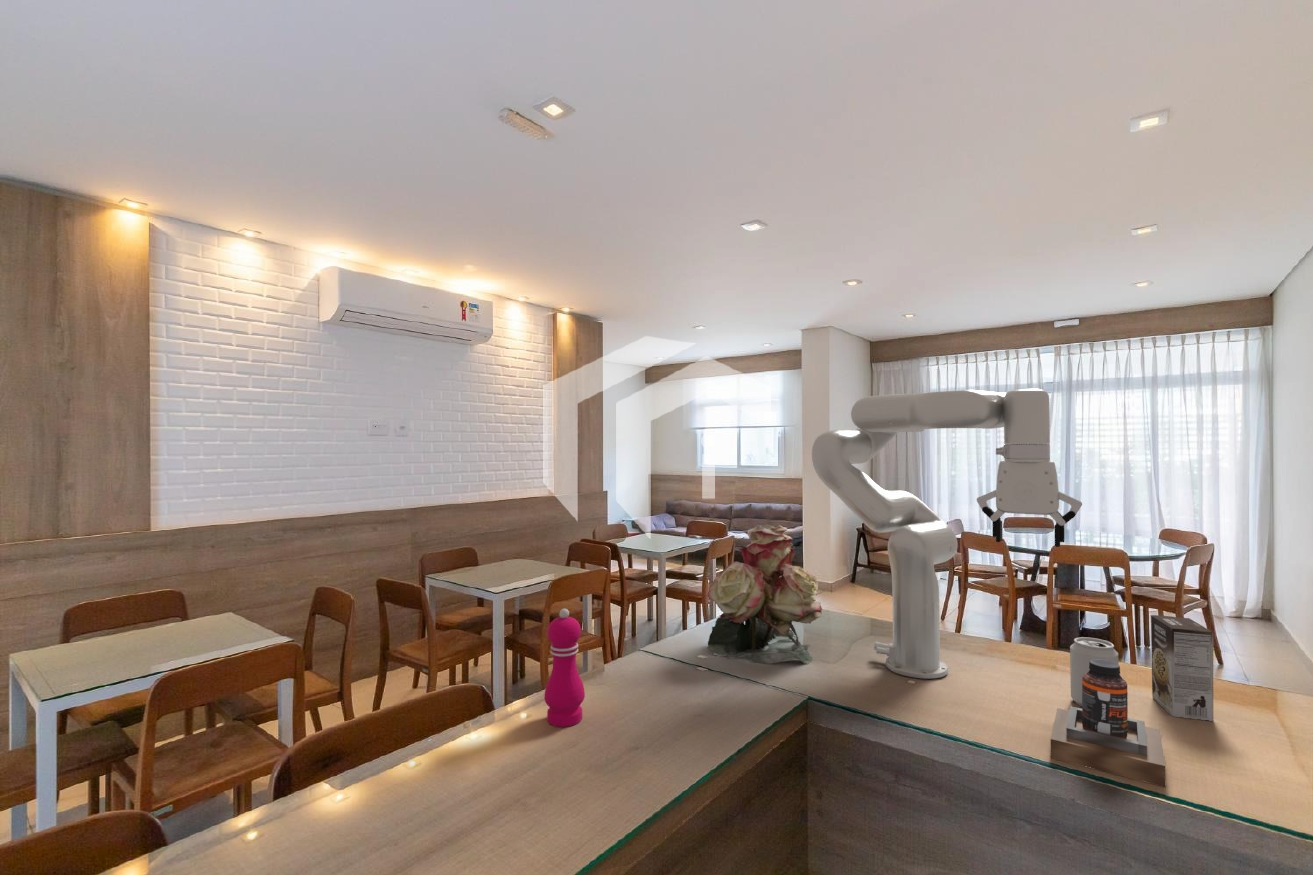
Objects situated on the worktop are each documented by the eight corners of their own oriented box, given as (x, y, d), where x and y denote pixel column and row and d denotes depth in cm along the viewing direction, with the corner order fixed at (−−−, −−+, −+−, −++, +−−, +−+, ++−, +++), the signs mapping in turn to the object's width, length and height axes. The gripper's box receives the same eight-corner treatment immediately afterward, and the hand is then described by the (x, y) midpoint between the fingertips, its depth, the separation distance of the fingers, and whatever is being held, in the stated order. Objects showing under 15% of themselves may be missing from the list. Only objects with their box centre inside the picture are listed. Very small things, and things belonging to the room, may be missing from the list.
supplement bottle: (1115, 746, 95) (1114, 672, 95) (1074, 730, 100) (1073, 660, 101) (1135, 737, 98) (1135, 665, 98) (1094, 722, 103) (1094, 654, 103)
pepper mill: (591, 713, 115) (590, 605, 115) (573, 730, 108) (573, 615, 108) (556, 708, 117) (555, 602, 117) (537, 725, 110) (536, 612, 110)
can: (1127, 715, 113) (1126, 648, 113) (1081, 711, 114) (1080, 646, 114) (1106, 698, 120) (1106, 636, 120) (1063, 695, 122) (1063, 634, 122)
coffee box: (1150, 697, 120) (1149, 614, 121) (1191, 701, 118) (1190, 617, 118) (1171, 717, 112) (1170, 627, 112) (1215, 722, 110) (1214, 630, 110)
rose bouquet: (699, 661, 142) (698, 530, 142) (732, 626, 169) (732, 515, 169) (813, 676, 132) (812, 535, 133) (829, 636, 159) (828, 519, 160)
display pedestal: (1050, 757, 98) (1050, 729, 98) (1057, 725, 109) (1057, 699, 109) (1165, 786, 89) (1165, 755, 89) (1160, 748, 101) (1159, 720, 101)
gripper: (973, 454, 121) (973, 542, 121) (1080, 454, 110) (1081, 550, 110) (979, 453, 127) (980, 537, 127) (1082, 453, 117) (1083, 545, 116)
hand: (1027, 543), depth 119 cm, fingers open, 9 cm apart
